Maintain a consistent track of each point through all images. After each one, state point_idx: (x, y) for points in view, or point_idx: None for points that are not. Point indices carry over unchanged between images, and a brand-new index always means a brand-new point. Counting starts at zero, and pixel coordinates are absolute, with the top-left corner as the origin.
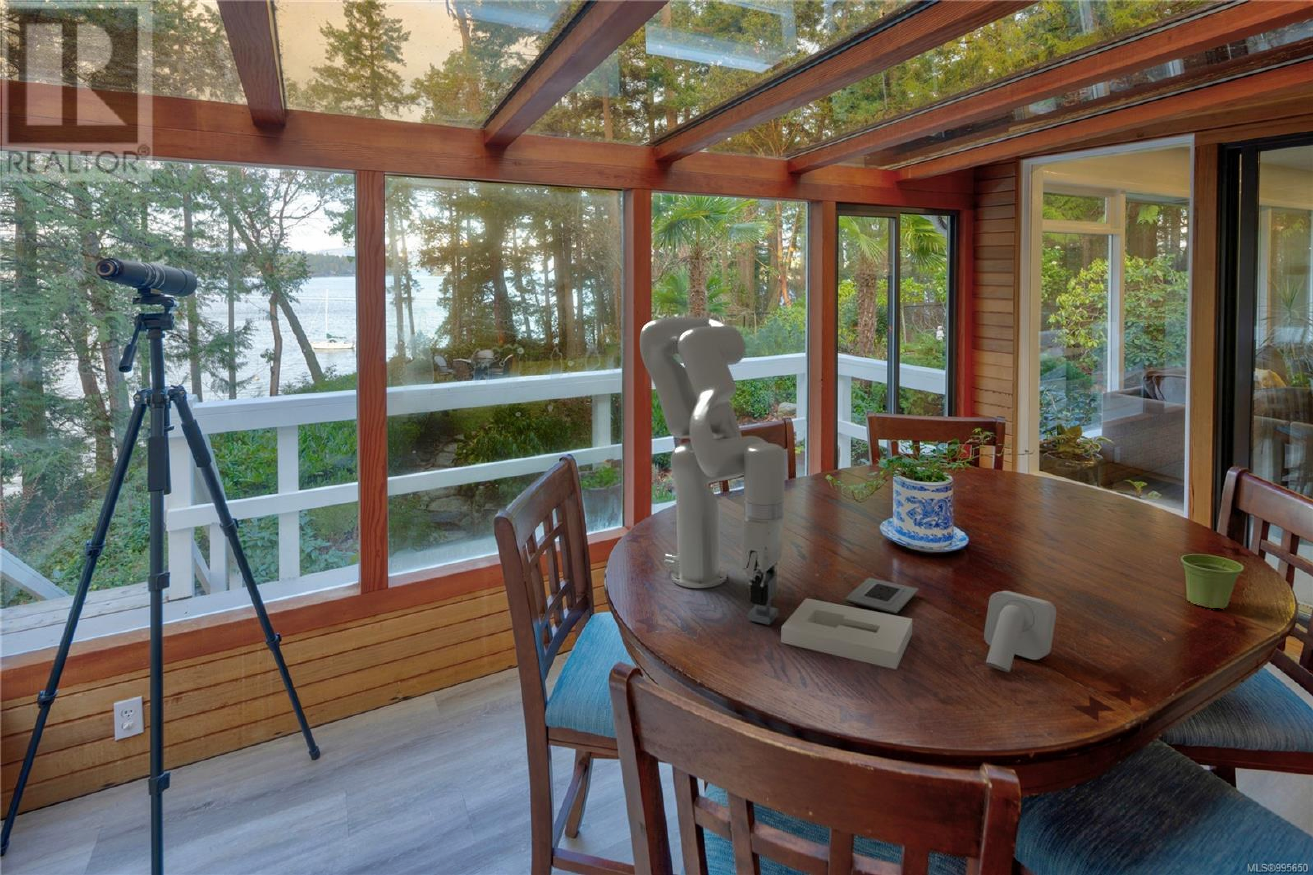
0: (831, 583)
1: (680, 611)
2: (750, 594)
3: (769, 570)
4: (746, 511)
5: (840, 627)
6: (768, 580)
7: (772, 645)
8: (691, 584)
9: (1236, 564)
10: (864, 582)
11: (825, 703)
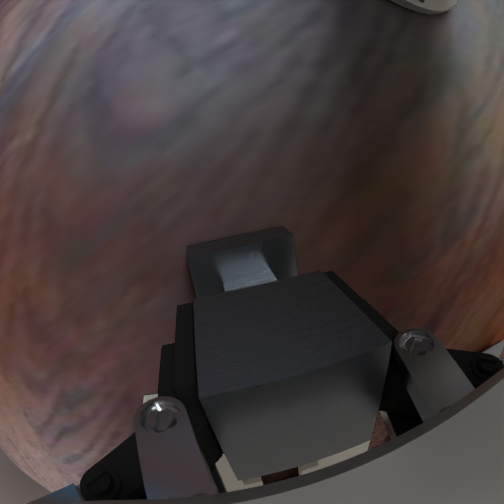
0: (499, 280)
1: None
2: (176, 332)
3: (403, 402)
4: None
5: (252, 486)
6: (252, 473)
7: (113, 386)
8: None
9: None
10: (491, 351)
11: (65, 481)
